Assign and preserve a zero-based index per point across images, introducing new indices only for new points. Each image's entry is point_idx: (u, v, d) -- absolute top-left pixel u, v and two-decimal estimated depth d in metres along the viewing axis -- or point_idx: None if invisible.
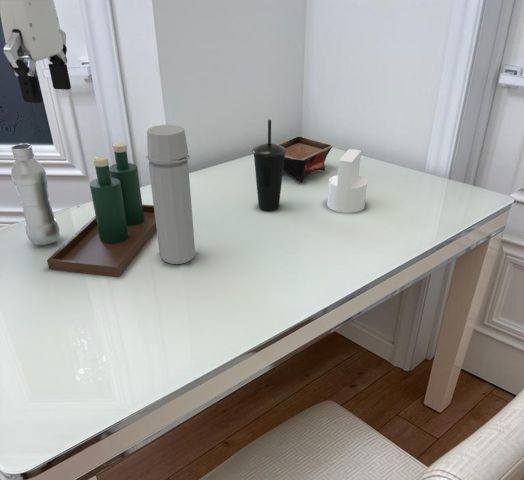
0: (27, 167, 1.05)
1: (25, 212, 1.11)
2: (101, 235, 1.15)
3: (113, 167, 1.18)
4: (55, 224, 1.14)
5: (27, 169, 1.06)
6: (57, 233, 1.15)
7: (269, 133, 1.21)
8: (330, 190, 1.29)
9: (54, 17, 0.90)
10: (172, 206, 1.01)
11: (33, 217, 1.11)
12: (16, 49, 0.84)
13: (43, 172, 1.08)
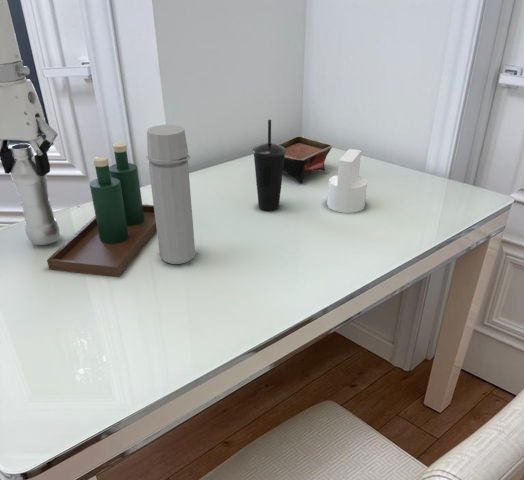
0: (26, 167, 1.05)
1: (25, 212, 1.11)
2: (101, 235, 1.15)
3: (113, 167, 1.18)
4: (55, 224, 1.14)
5: (27, 169, 1.06)
6: (57, 233, 1.15)
7: (269, 133, 1.21)
8: (330, 190, 1.29)
9: (18, 111, 0.99)
10: (172, 206, 1.01)
11: (33, 217, 1.11)
12: None
13: None
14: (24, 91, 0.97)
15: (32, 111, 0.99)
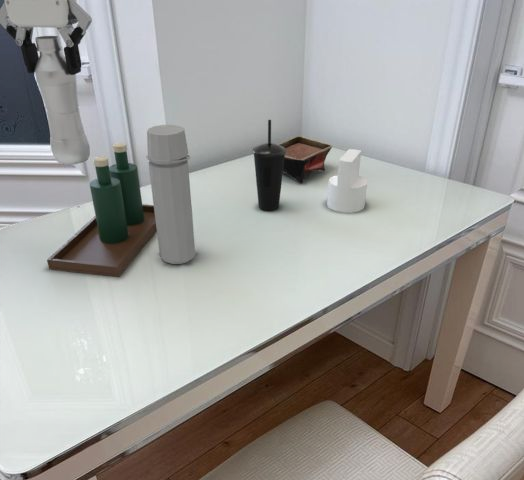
0: (54, 63, 0.88)
1: (51, 122, 0.94)
2: (101, 235, 1.15)
3: (113, 167, 1.18)
4: (85, 139, 0.97)
5: (54, 65, 0.88)
6: (87, 151, 0.98)
7: (269, 133, 1.21)
8: (330, 190, 1.29)
9: None
10: (172, 206, 1.01)
11: (61, 128, 0.94)
12: (4, 15, 0.87)
13: None
14: None
15: None
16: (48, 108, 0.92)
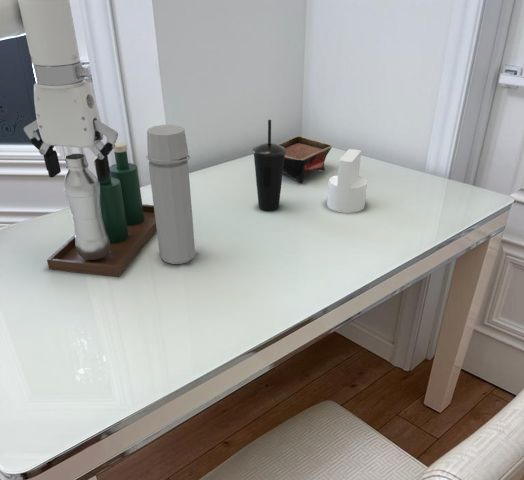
0: (81, 178, 0.99)
1: (76, 225, 1.05)
2: None
3: (113, 167, 1.18)
4: (106, 238, 1.08)
5: (81, 180, 0.99)
6: (108, 247, 1.09)
7: (269, 133, 1.21)
8: (330, 190, 1.29)
9: (76, 116, 0.92)
10: (172, 206, 1.01)
11: (85, 231, 1.05)
12: (31, 129, 0.97)
13: (97, 183, 1.01)
14: (83, 94, 0.90)
15: (90, 116, 0.93)
16: (74, 214, 1.03)
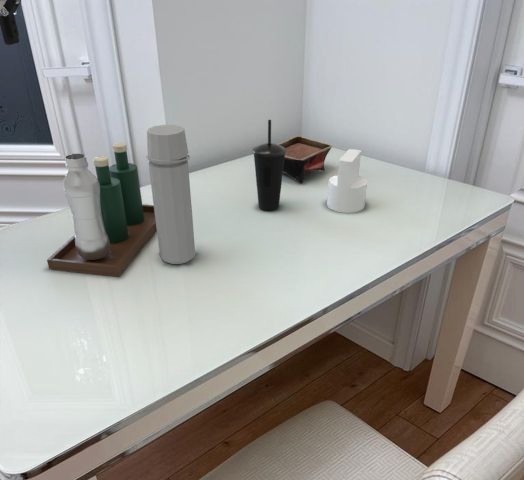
0: (81, 179, 0.99)
1: (76, 225, 1.05)
2: None
3: (113, 167, 1.18)
4: (106, 238, 1.08)
5: (81, 180, 0.99)
6: (108, 247, 1.09)
7: (269, 133, 1.21)
8: (330, 190, 1.29)
9: None
10: (172, 206, 1.01)
11: (85, 231, 1.05)
12: None
13: (97, 183, 1.01)
14: None
15: None
16: (74, 214, 1.03)
